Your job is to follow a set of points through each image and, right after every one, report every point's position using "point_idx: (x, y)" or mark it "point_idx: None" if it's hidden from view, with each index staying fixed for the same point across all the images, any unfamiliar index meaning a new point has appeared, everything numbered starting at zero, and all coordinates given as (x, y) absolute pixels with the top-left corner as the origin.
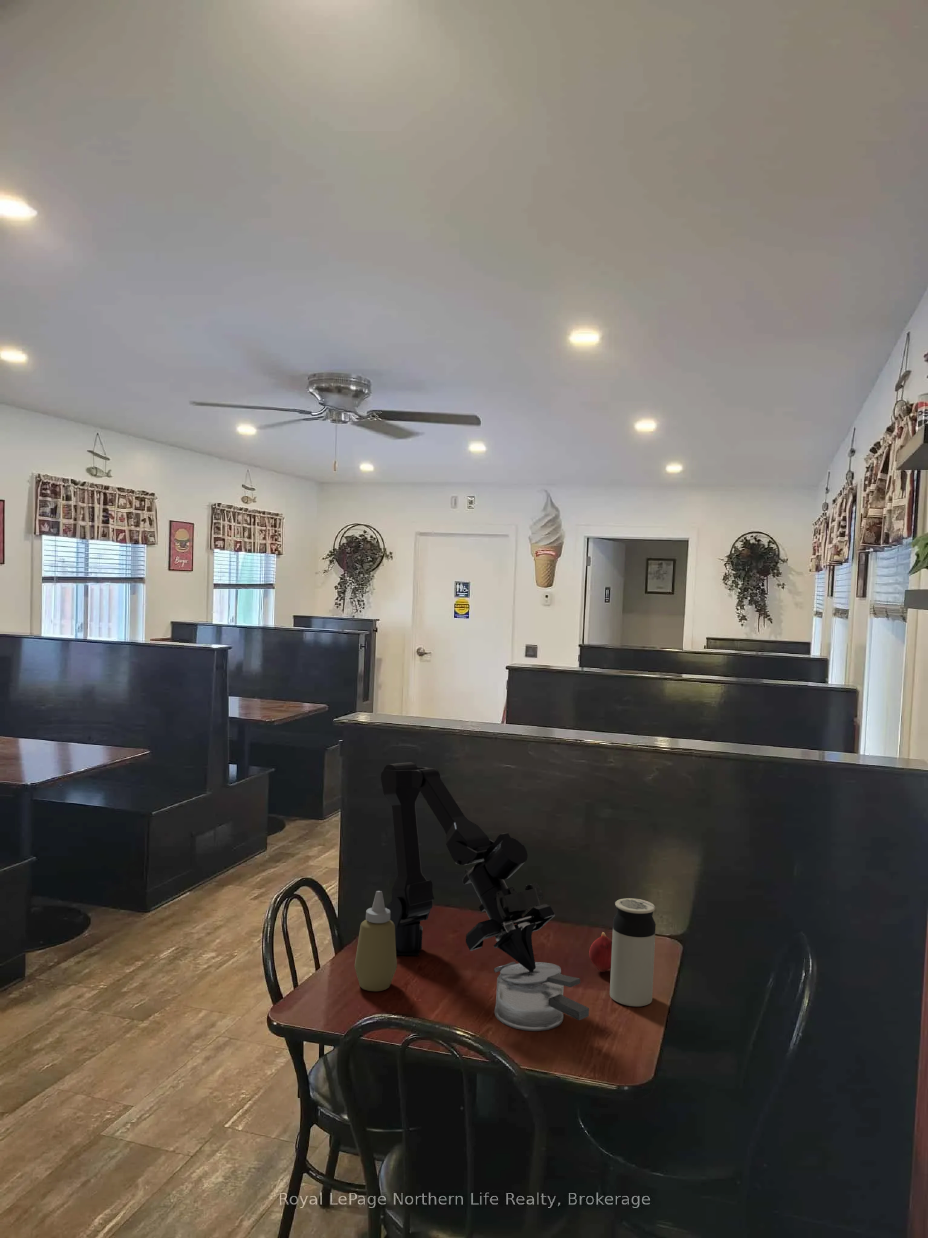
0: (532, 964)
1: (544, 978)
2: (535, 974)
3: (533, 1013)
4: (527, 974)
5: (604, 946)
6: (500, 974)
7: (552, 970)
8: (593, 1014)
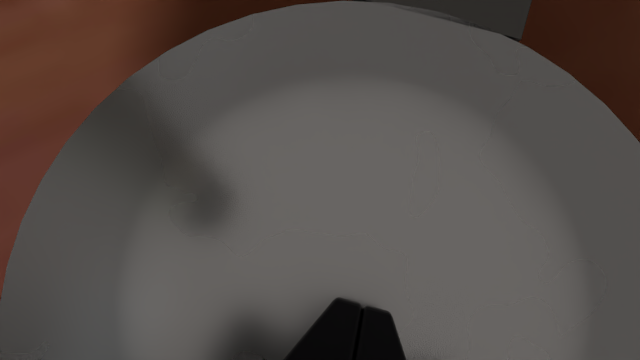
0: (367, 335)
1: (551, 65)
2: (466, 229)
3: None
4: (500, 320)
5: None
6: None
7: (257, 112)
8: (89, 11)
